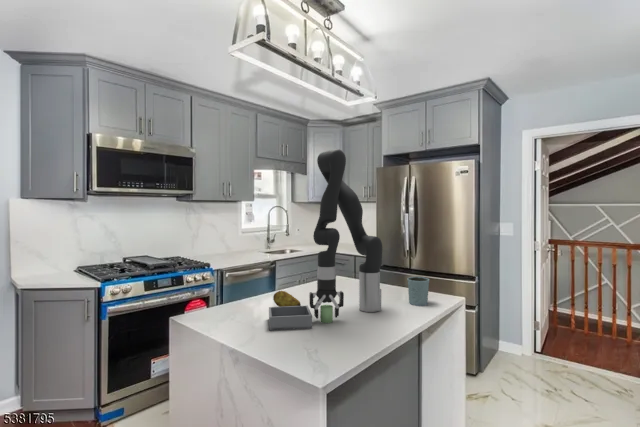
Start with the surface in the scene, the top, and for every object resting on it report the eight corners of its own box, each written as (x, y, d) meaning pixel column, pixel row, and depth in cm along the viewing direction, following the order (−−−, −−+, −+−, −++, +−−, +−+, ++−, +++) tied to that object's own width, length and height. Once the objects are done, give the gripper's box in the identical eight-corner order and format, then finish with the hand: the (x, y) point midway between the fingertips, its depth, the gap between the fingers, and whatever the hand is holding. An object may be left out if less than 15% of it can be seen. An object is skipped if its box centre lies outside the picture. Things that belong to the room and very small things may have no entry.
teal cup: (427, 301, 177) (427, 276, 177) (431, 306, 167) (431, 281, 167) (405, 300, 178) (406, 276, 178) (408, 306, 168) (409, 280, 168)
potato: (288, 314, 155) (288, 296, 155) (270, 308, 164) (270, 291, 164) (302, 310, 161) (302, 292, 161) (284, 305, 170) (284, 288, 170)
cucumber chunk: (331, 318, 149) (331, 304, 149) (333, 322, 144) (333, 307, 144) (319, 319, 148) (319, 305, 148) (321, 323, 143) (321, 308, 143)
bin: (307, 317, 151) (307, 305, 151) (312, 328, 137) (312, 315, 137) (269, 319, 148) (268, 307, 148) (269, 330, 135) (269, 317, 135)
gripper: (341, 274, 151) (341, 314, 151) (307, 276, 148) (307, 315, 149) (345, 278, 143) (345, 319, 144) (310, 279, 141) (310, 321, 141)
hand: (326, 317), depth 146 cm, fingers open, 7 cm apart
